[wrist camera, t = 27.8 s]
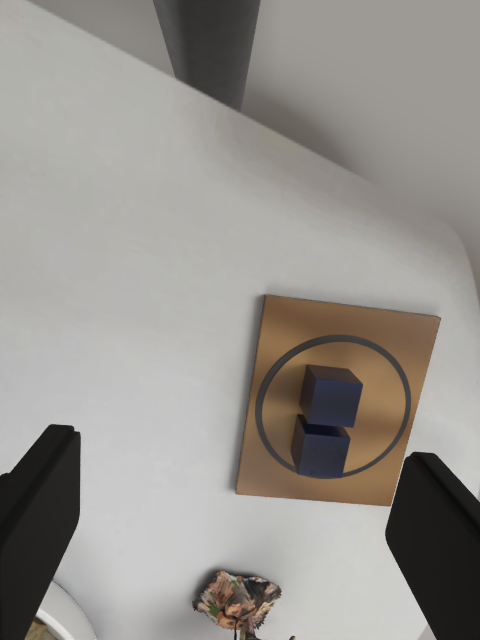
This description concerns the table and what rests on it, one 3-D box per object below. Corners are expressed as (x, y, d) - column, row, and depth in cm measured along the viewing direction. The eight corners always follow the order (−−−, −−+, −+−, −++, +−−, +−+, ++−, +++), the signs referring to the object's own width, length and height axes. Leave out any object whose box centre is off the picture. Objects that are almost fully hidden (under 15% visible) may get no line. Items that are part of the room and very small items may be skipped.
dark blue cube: (306, 363, 33) (316, 379, 30) (349, 368, 34) (363, 384, 30) (298, 404, 34) (307, 423, 31) (340, 408, 35) (353, 428, 31)
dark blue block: (296, 413, 34) (305, 433, 31) (338, 417, 35) (351, 438, 31) (289, 451, 35) (297, 475, 32) (330, 455, 36) (341, 479, 32)
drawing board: (264, 294, 33) (266, 296, 32) (436, 315, 34) (442, 318, 33) (235, 488, 37) (235, 495, 36) (387, 501, 38) (391, 508, 38)
